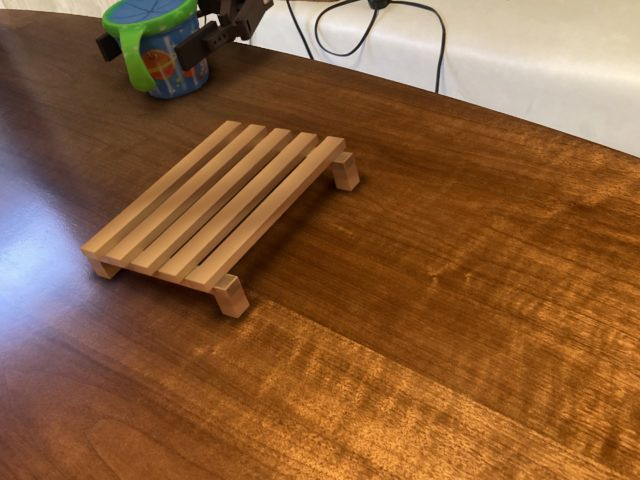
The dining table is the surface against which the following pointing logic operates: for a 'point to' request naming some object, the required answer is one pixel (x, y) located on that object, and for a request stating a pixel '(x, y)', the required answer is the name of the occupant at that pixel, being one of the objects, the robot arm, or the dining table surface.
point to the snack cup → (156, 44)
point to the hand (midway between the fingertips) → (140, 55)
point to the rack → (216, 208)
